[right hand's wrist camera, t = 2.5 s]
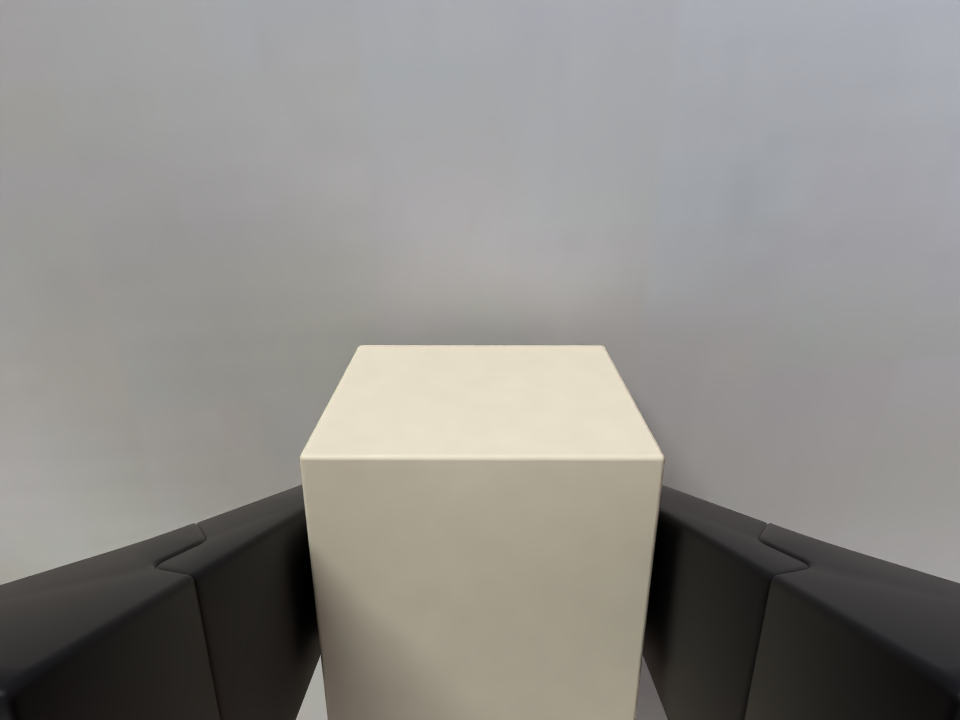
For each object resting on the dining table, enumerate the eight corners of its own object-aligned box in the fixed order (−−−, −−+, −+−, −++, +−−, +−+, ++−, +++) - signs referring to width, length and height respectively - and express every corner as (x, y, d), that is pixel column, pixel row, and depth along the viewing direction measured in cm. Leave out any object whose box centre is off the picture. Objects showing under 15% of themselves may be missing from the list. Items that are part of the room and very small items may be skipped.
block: (374, 576, 13) (330, 761, 10) (358, 344, 12) (297, 456, 8) (588, 576, 13) (631, 761, 10) (604, 344, 12) (666, 456, 8)
